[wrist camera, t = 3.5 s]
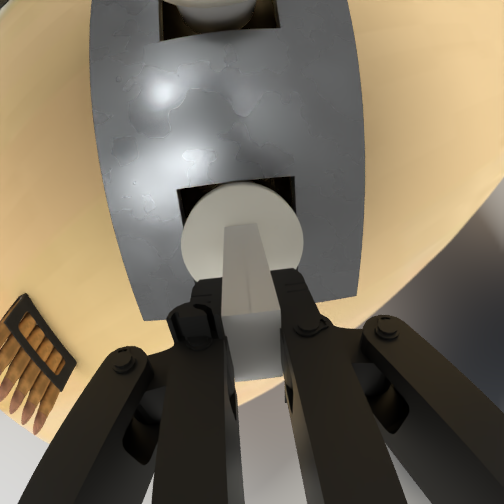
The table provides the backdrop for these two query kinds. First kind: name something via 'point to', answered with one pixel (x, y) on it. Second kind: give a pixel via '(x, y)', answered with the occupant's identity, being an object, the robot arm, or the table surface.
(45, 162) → the table surface
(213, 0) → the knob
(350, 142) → the housing
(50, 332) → the ammunition clip
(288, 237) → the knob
